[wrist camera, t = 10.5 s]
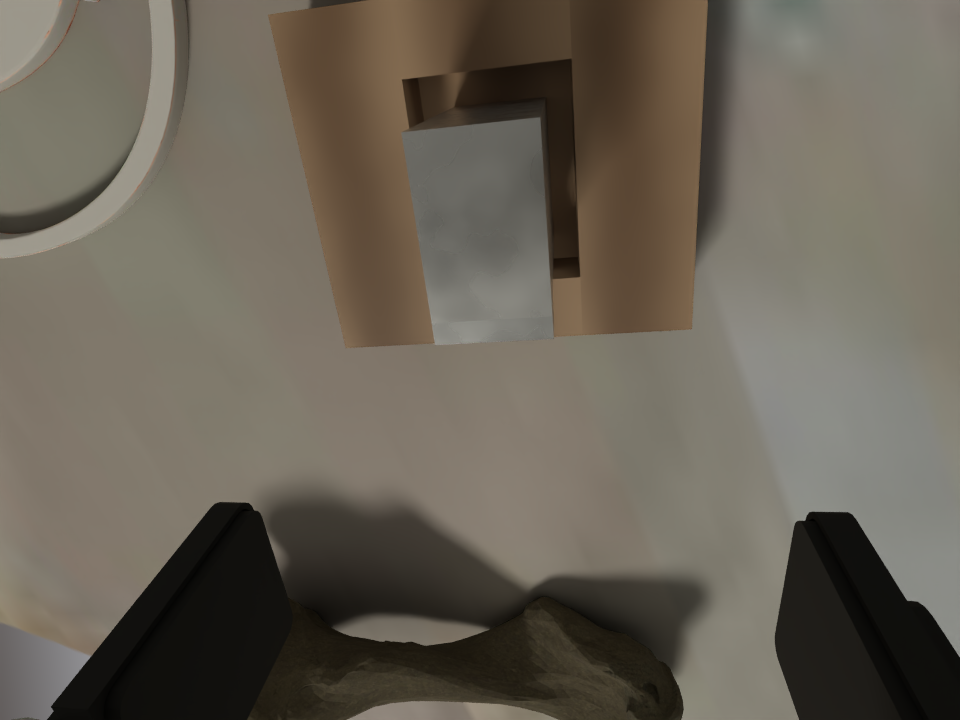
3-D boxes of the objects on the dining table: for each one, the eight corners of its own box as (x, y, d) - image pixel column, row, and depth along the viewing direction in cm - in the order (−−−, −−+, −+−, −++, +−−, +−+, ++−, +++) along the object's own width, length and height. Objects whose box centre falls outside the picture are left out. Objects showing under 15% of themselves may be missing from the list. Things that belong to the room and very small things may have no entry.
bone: (716, 718, 34) (174, 691, 31) (659, 798, 40) (194, 783, 37) (666, 573, 43) (233, 539, 39) (624, 656, 48) (243, 633, 45)
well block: (687, -34, 24) (710, -51, 20) (675, 297, 30) (691, 329, 26) (307, 20, 26) (268, 14, 23) (368, 316, 32) (345, 347, 29)
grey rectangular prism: (546, 96, 25) (539, 117, 17) (554, 251, 28) (553, 338, 20) (454, 106, 26) (400, 132, 17) (472, 257, 29) (435, 345, 20)
